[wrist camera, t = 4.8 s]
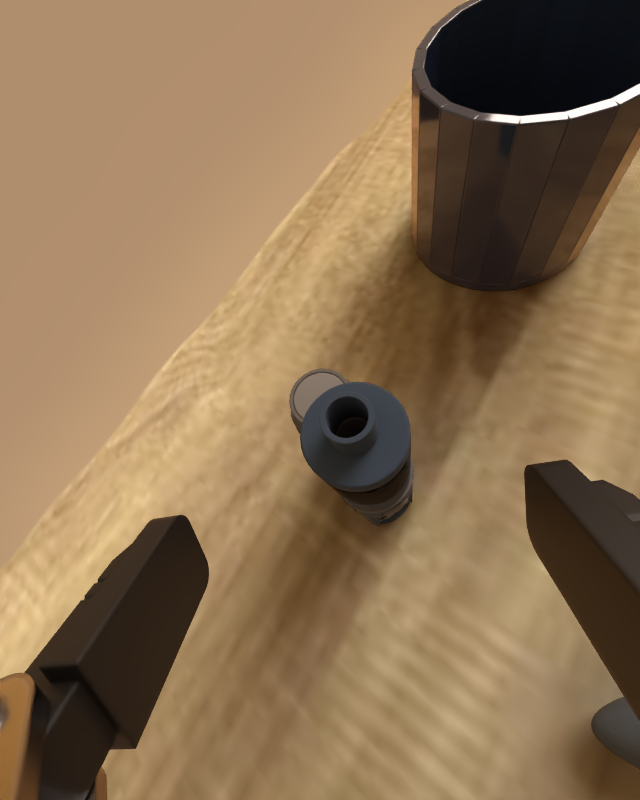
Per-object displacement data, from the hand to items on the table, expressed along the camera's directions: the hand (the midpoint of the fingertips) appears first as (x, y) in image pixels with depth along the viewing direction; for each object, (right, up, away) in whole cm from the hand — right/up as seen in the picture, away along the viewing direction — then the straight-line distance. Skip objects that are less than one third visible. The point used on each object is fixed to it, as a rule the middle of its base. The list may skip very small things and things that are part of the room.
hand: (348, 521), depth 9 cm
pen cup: (+10, +14, +14) cm, 22 cm away
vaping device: (+2, -1, +10) cm, 10 cm away
